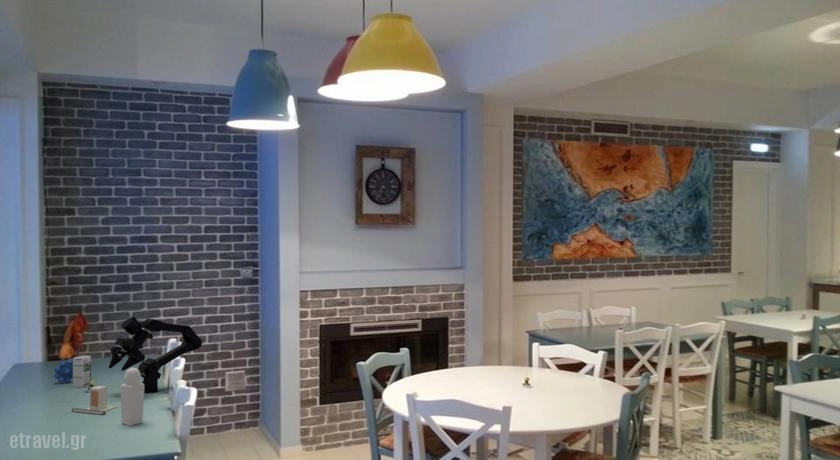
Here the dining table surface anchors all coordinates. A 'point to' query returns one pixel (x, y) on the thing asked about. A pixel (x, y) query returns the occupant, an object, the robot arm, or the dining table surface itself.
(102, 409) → the pad
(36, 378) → the dining table surface
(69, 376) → the grapes
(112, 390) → the dining table surface
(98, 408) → the carton
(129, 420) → the grey bottle
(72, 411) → the rail
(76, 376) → the syrup box
